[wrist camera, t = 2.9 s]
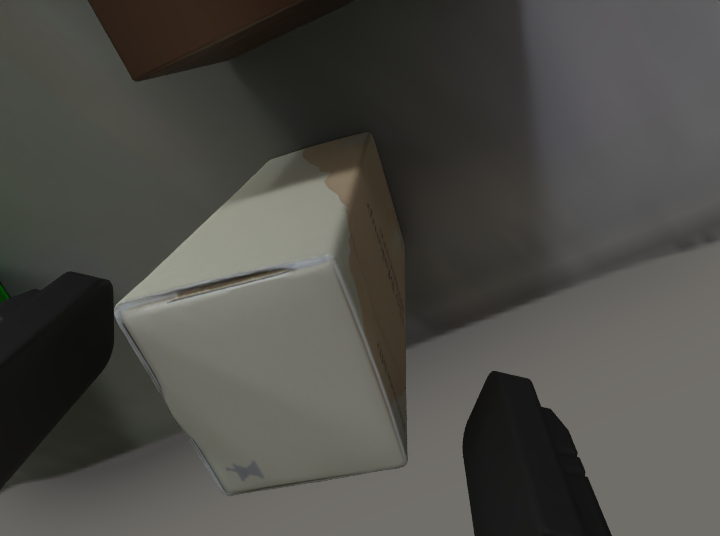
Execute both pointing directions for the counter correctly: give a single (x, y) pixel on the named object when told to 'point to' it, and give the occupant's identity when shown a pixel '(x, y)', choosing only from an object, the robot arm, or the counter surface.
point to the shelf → (198, 29)
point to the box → (285, 324)
